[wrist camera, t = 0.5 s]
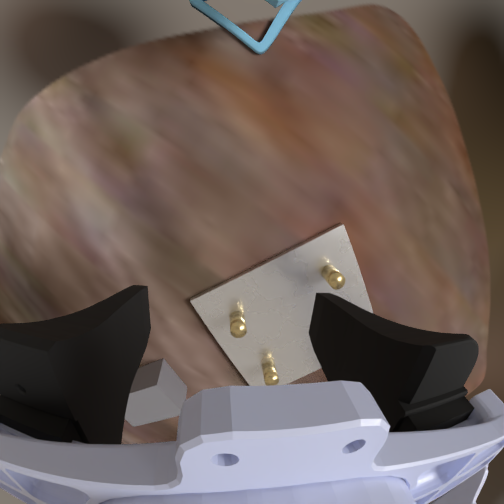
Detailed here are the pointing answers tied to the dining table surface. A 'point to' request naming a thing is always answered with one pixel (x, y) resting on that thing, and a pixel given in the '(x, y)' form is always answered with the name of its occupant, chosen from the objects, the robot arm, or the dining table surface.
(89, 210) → the dining table surface
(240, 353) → the plate with brass knobs
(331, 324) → the robot arm
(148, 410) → the plain grey block
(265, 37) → the chair
